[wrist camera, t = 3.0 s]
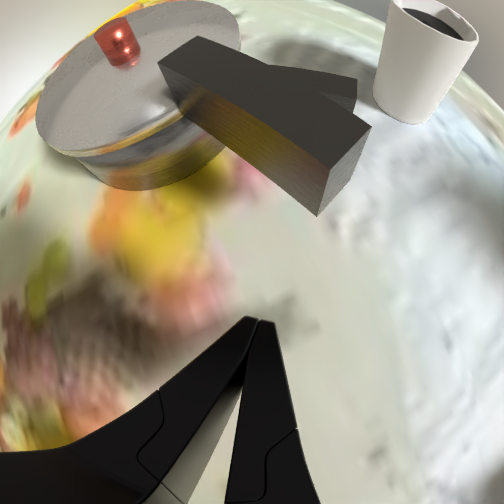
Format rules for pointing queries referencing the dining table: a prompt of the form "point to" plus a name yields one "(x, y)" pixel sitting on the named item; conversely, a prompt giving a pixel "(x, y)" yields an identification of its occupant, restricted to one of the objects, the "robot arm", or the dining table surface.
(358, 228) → the dining table surface
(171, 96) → the lid
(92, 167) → the pot
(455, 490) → the dining table surface
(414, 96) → the white cup
